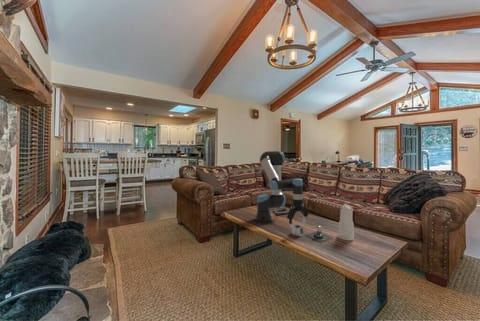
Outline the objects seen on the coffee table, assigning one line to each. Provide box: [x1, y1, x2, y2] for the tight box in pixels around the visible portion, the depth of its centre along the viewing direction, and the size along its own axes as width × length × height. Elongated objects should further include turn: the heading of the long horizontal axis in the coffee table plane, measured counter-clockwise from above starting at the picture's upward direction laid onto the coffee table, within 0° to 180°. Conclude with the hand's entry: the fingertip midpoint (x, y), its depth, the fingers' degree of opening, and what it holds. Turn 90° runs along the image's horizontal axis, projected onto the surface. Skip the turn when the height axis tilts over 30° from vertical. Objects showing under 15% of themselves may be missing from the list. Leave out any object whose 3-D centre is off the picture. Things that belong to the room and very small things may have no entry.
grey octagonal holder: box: [291, 224, 304, 237], centre depth 168 cm, size 8×8×6 cm
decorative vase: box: [337, 203, 355, 241], centre depth 163 cm, size 11×11×25 cm
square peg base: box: [304, 225, 334, 244], centre depth 163 cm, size 14×14×9 cm
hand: (297, 226), depth 167 cm, fingers open, 13 cm apart
